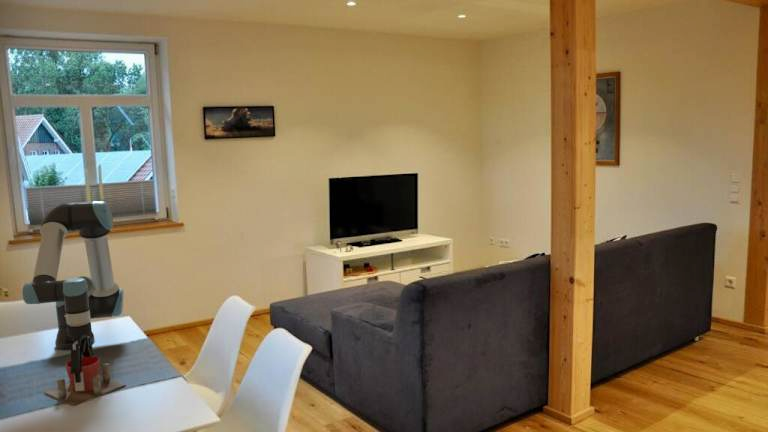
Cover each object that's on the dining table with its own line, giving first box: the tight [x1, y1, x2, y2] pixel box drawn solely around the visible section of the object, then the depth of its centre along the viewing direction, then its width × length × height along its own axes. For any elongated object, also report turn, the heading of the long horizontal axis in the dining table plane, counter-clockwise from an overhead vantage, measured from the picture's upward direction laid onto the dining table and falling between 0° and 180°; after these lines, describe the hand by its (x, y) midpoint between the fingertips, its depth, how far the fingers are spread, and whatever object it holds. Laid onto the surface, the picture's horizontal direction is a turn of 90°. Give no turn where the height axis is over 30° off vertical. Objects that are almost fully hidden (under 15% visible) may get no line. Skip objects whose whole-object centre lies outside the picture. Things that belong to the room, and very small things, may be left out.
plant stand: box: [44, 363, 127, 407], centre depth 216 cm, size 19×19×7 cm
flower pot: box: [65, 355, 101, 392], centre depth 216 cm, size 11×11×10 cm
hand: (85, 384), depth 217 cm, fingers closed on flower pot, 10 cm apart
